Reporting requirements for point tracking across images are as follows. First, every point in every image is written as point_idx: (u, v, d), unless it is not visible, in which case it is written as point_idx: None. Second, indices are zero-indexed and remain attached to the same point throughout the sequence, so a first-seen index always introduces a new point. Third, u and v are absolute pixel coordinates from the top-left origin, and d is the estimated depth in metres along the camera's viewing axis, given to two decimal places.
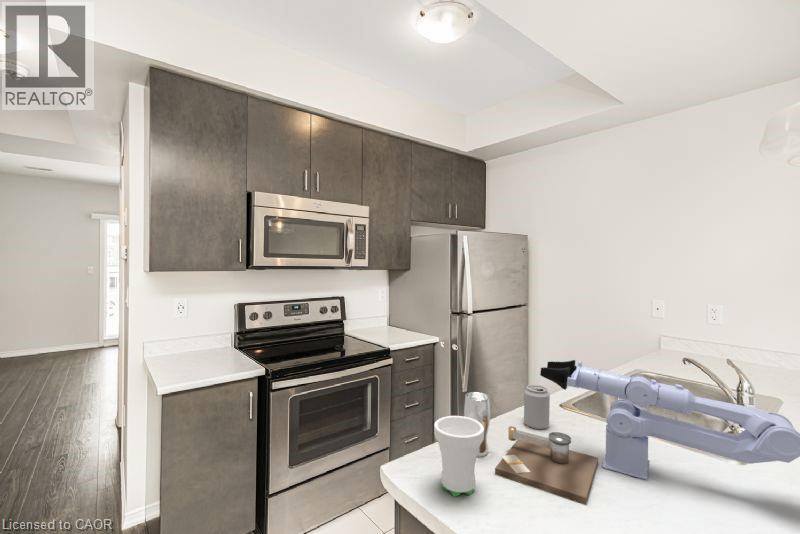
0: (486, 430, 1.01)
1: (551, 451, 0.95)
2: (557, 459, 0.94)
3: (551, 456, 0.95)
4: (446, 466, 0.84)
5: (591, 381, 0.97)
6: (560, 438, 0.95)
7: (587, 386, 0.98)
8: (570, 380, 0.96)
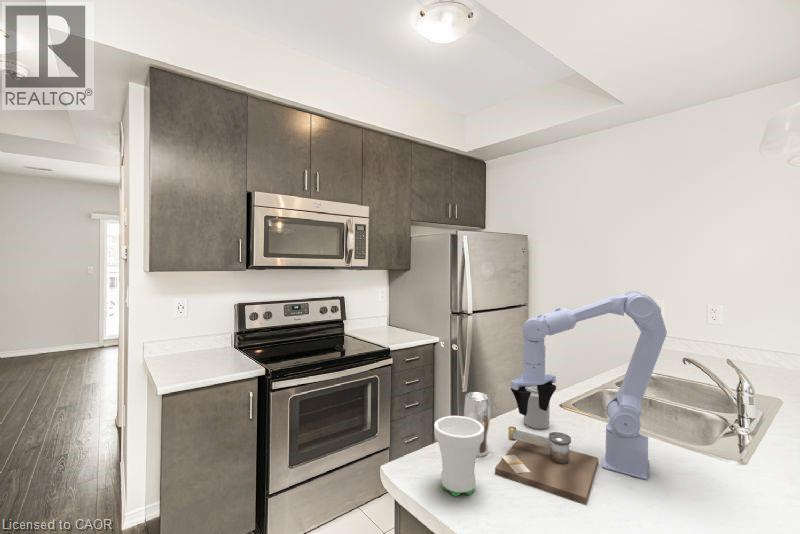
0: (486, 430, 1.01)
1: (551, 451, 0.95)
2: (557, 459, 0.94)
3: (551, 456, 0.95)
4: (446, 466, 0.84)
5: (525, 368, 1.02)
6: (560, 438, 0.95)
7: (530, 372, 1.01)
8: (511, 385, 1.01)
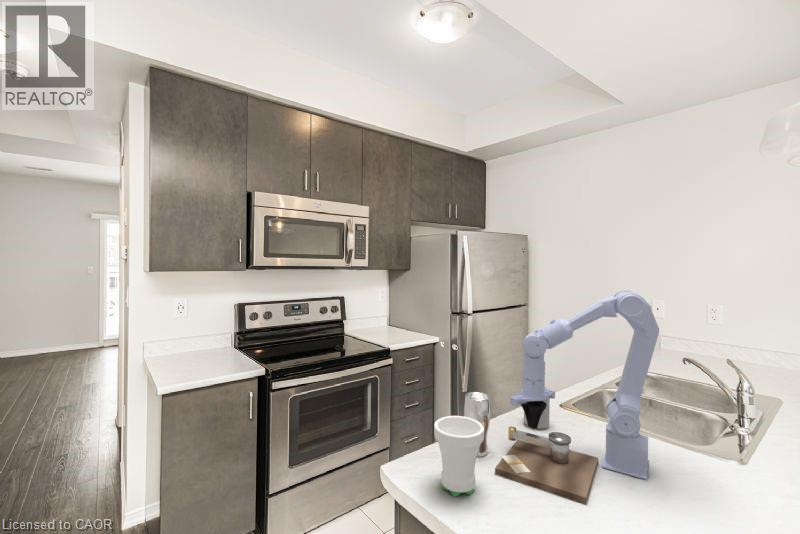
0: (486, 430, 1.01)
1: (551, 451, 0.95)
2: (557, 459, 0.94)
3: (551, 456, 0.95)
4: (446, 466, 0.84)
5: (525, 384, 1.03)
6: (560, 438, 0.95)
7: (530, 388, 1.01)
8: (511, 401, 1.01)
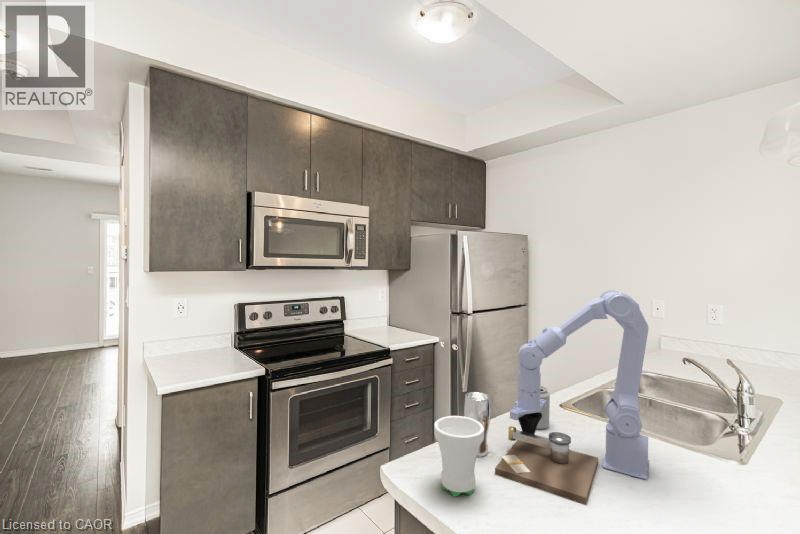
0: (486, 430, 1.01)
1: (551, 451, 0.95)
2: (557, 459, 0.94)
3: (551, 456, 0.95)
4: (446, 466, 0.84)
5: (522, 396, 1.01)
6: (560, 438, 0.95)
7: (528, 400, 1.00)
8: (511, 415, 0.98)
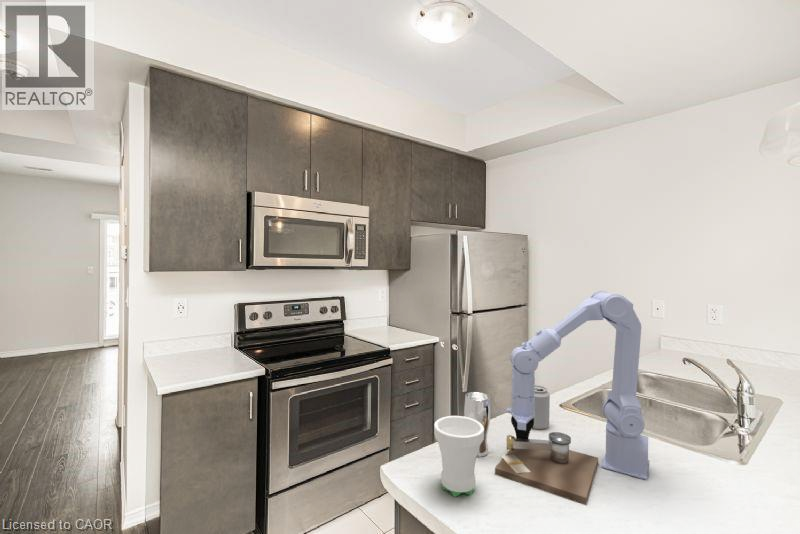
0: (486, 430, 1.01)
1: (554, 453, 0.95)
2: (561, 460, 0.94)
3: (554, 458, 0.94)
4: (446, 466, 0.84)
5: (521, 403, 0.96)
6: (562, 438, 0.95)
7: (528, 406, 0.96)
8: (519, 426, 0.92)
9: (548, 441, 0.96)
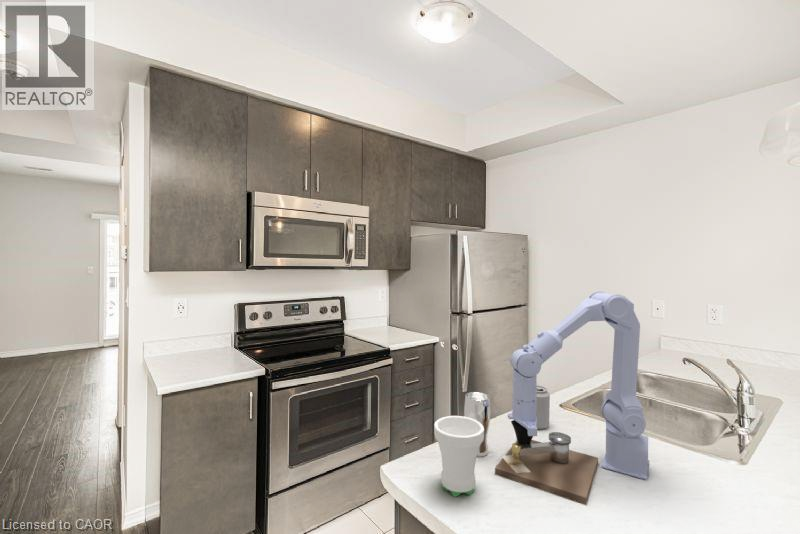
0: (486, 430, 1.01)
1: (557, 454, 0.94)
2: (564, 460, 0.94)
3: (557, 459, 0.94)
4: (446, 466, 0.84)
5: (526, 407, 0.93)
6: (563, 438, 0.95)
7: (532, 410, 0.93)
8: (530, 432, 0.89)
9: (549, 443, 0.95)
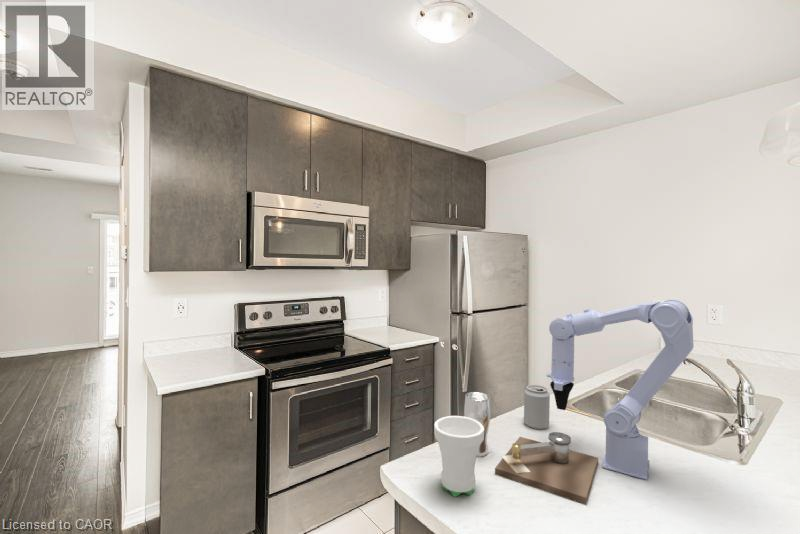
0: (486, 430, 1.01)
1: (557, 454, 0.94)
2: (564, 460, 0.94)
3: (557, 459, 0.94)
4: (446, 466, 0.84)
5: (560, 367, 1.04)
6: (563, 438, 0.95)
7: (566, 370, 1.03)
8: (556, 387, 1.00)
9: (549, 443, 0.95)
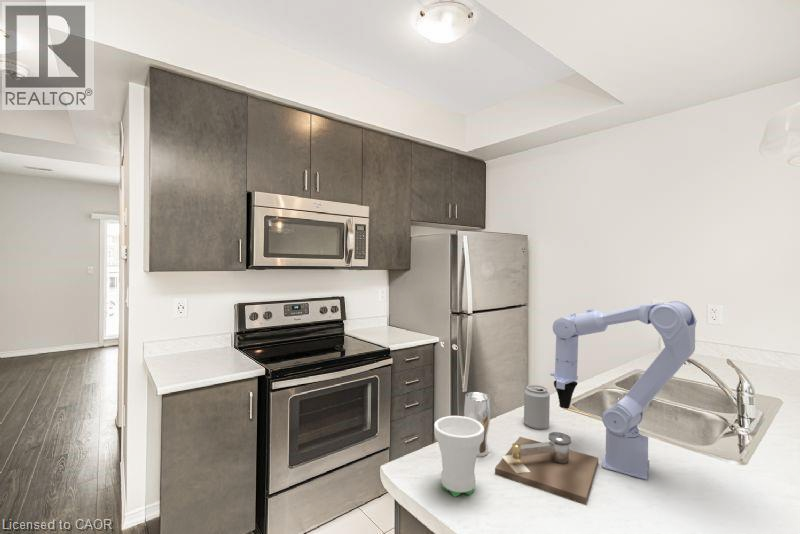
0: (486, 430, 1.01)
1: (557, 454, 0.94)
2: (564, 460, 0.94)
3: (557, 459, 0.94)
4: (446, 466, 0.84)
5: (563, 366, 1.05)
6: (563, 438, 0.95)
7: (569, 369, 1.04)
8: (558, 385, 1.01)
9: (549, 443, 0.95)
